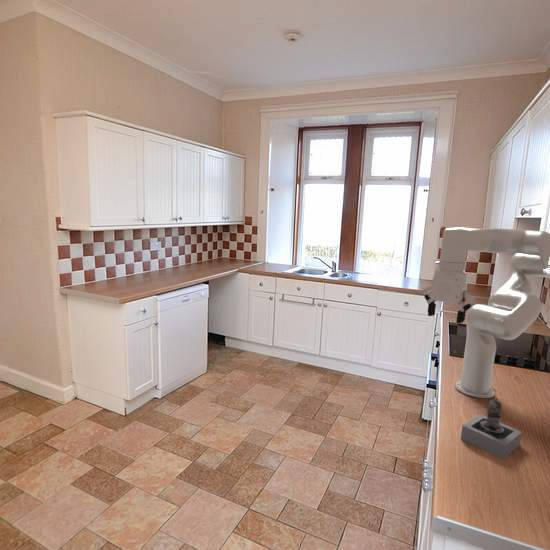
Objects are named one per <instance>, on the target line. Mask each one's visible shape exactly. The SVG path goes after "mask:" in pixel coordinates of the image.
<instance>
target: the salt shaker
mask: <svg viewBox="0 0 550 550" xmlns="http://www.w3.org/2000/svg"><path fill="white" fill-rule="evenodd" d="M502 405H503V404H502V403H501V402H500V401H499V400H498V398H497V397H495V398H494V399H491V400H490V401H489V406H488V410H486V414H487V416H486V417H487V420H486V421H481V422H480V425H481V429H482V431H483V432H484V433H486V434H489V435H491V436H493V437H495V438H497V439H499V440H501V439H500V438H499V437H500V436H501V435H502V433H503V432H504V428H503V427H502V426H501V425H500V423H501V421H500V420H501V419H500V418H501V417H502V416H503V415H502V413H501V411H502ZM499 422H500V423H499Z"/></svg>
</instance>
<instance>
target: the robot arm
mask: <svg viewBox="0 0 550 550" xmlns="http://www.w3.org/2000/svg"><path fill="white" fill-rule="evenodd" d="M441 238H442V239H441V246H440V247H441V248H440V256H439V261H436V262H435V266H437V268H438V269H435V271H434V274H433V278H432V280H431V285H430V286H428V287H426V288H423V289H422V292H423V296H424V299H425V301H426V303H427V305H428V306H427V316H429V317H432V316H435V314H436V307H437V304H436V302H441V303H446V304H450V305H456V307H458V311H457V315H456V321H455V322H456V324H458V325H459V324H462V323H464V321H466V322H465V324H466V339H465V340H466V341H465V346H464V354H463V361H462V368H461V375H460V380H457V381H456V382H455V384H454V387H455V389H456V390H458V391H459V392H460V393H462V394H464V395H467V396H470V397H473V398H479V399H491V398H494V396H495V390H494V389H493V388H492V387H491V383H492V381H494V379H493V372H494V371H493V370H494V364H495V357H496V351H497V343H496V340H495V337H496V338H500V339H503V340H507V341H513V340H515V339H517V338H518V337H520V336H521V334H523V333H524V331H526V330H527V329H528V328H529V327H530V326H531V325H532V324H533V323H534V322H535V321H536V320H537V319H538V317H540V316H539V315H540V314H541V311H542V305H543V304H542V301H541V298H539V296H537V295H536V294H534V293H532V289H533V288H532V284H531V281H530V280H529V278H528V276H534V277H540V278H546V279H547V278H548V279H550V276H548V275H547V274H545V273H543V269H546V268H548V261H549V257H550V232H547V231H544V230H530V229H529V230H528V229H512V228H499V227H497V228H494V227H493V228H488V227H487V228H472V227H447V228H445V229H444V230H443V234H442V237H441ZM469 252H471V253H483V252H484V253H488V254H489V253H490V254H508V255H509V254H513V255H512V256H511V258H510V262H509V270H508V271H509V272H508V273H509V274H508V279H507V280H506V282H505V283H503V284H502V285H501V286H500V287H499V288H497V290H495V292H493V293H492V294H491V295H490V297H489V298H488V301H487V304H481V303H479V304H476V302H477V298H475V297H474V296H473V295H472V294H470V293H469V292H468V291H467V290H468V279H467V278H468V277H467V273H466V272H465V269H466V268H465V267H466V262H467V254H468V253H469ZM466 299H467V300H468V303H467V304H466V303H465V302H466ZM465 318H466V319H465Z"/></svg>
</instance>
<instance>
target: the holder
mask: <svg viewBox="0 0 550 550" xmlns="http://www.w3.org/2000/svg"><path fill="white" fill-rule="evenodd" d="M486 420H487V416H486V415H483V414H478V415H477V416H476V417H474V418H472V419H471V420H469V421H467V422H466V423H463V425H461V431H460V432H461V434H460V439H461V440H462V441H464V442H467V443H469V444H471V445H473V446H475V447H477V448H479V449H481V450H483V451H485V452H487V453H489V454H491V455H493V456H495V457H498V458H499V459H501V460H504V459H506V458H507V457H508V456H509V455H510V454H512V453H513V452H514V451H515V450H516V449H518V448H519V447H520V446H521V442H522V441H521V439H522V435H523V432H522V431H521V430H518V429H517V428H516V429H515V428H513V427H511V426H509V425H506V424H504V423H503V422H502V423H501V421H499V423H500V425H501V426H502V427H503V428H504V432H503V433H502V435H501V436H500V437H499V438H500V439H501V440H499V439H497V438H495V437H493V436H491V435H489V434H486V433H484V432H483V431H482V429H481V425H480V422H481V421H486Z"/></svg>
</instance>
